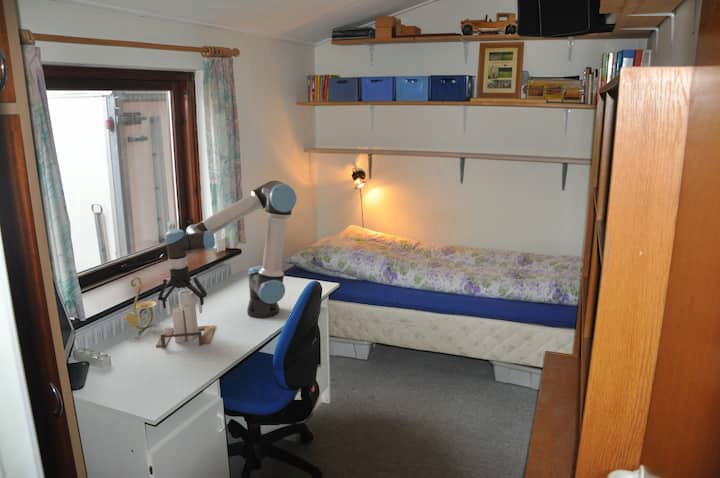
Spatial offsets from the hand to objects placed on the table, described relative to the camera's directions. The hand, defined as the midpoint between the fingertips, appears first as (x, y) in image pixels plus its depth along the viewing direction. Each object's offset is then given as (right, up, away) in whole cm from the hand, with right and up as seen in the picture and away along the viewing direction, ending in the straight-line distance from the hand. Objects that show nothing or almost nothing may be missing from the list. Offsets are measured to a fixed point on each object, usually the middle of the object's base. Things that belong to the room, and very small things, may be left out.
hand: (184, 313), depth 242 cm
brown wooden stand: (0, -11, +3) cm, 11 cm away
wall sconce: (-23, -9, +13) cm, 28 cm away
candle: (0, -11, +3) cm, 11 cm away
